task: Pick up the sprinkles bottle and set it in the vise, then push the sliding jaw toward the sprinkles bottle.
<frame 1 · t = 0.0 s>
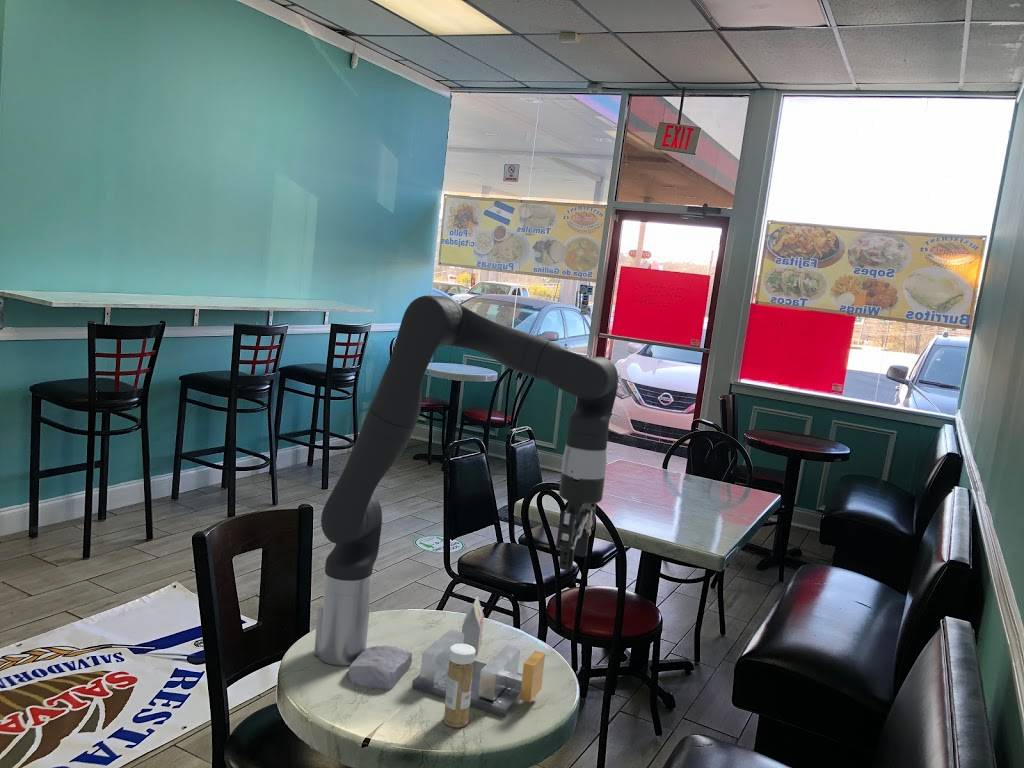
hand: (573, 562, 142), 29 cm above the table, fingers open, 8 cm apart
sliding jaw: (515, 671, 151), point 5 cm above the table, slide at 6.0 cm
vise: (471, 685, 155), on the table
stone block: (378, 675, 156), on the table
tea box: (470, 648, 171), on the table
sprinkles bottle: (455, 722, 142), on the table
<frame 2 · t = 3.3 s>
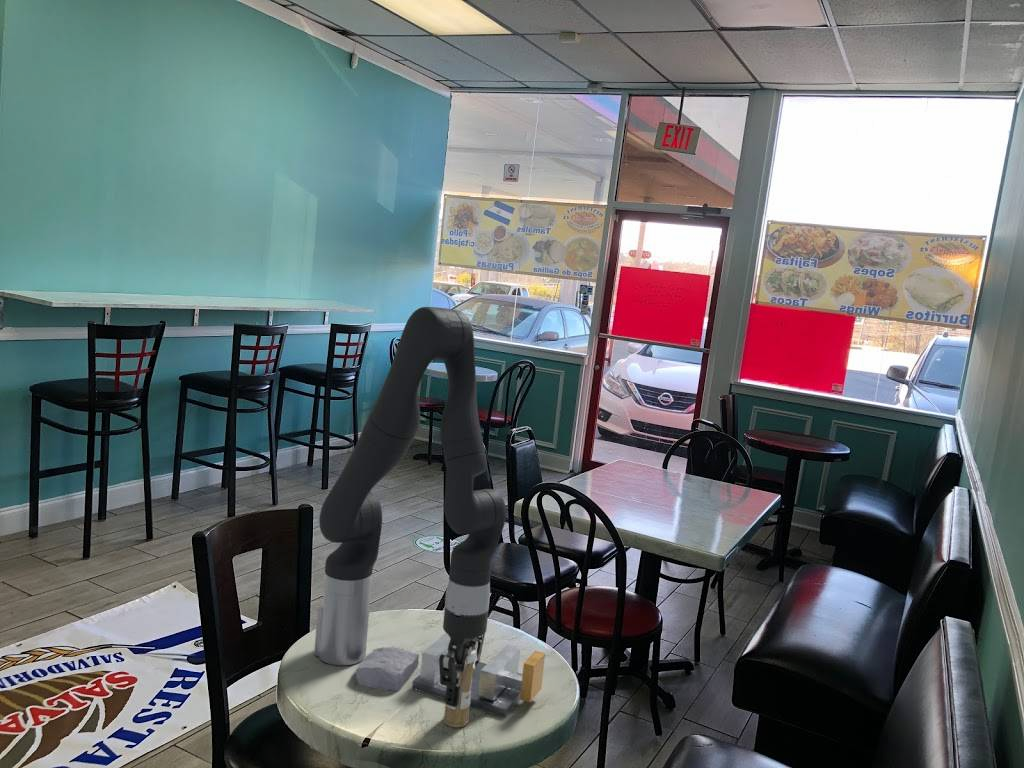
hand: (457, 698, 141), 4 cm above the table, fingers closed on sprinkles bottle, 4 cm apart
stone block: (385, 676, 156), on the table
sprinkles bottle: (455, 722, 142), on the table, touching gripper
everything else where it was.
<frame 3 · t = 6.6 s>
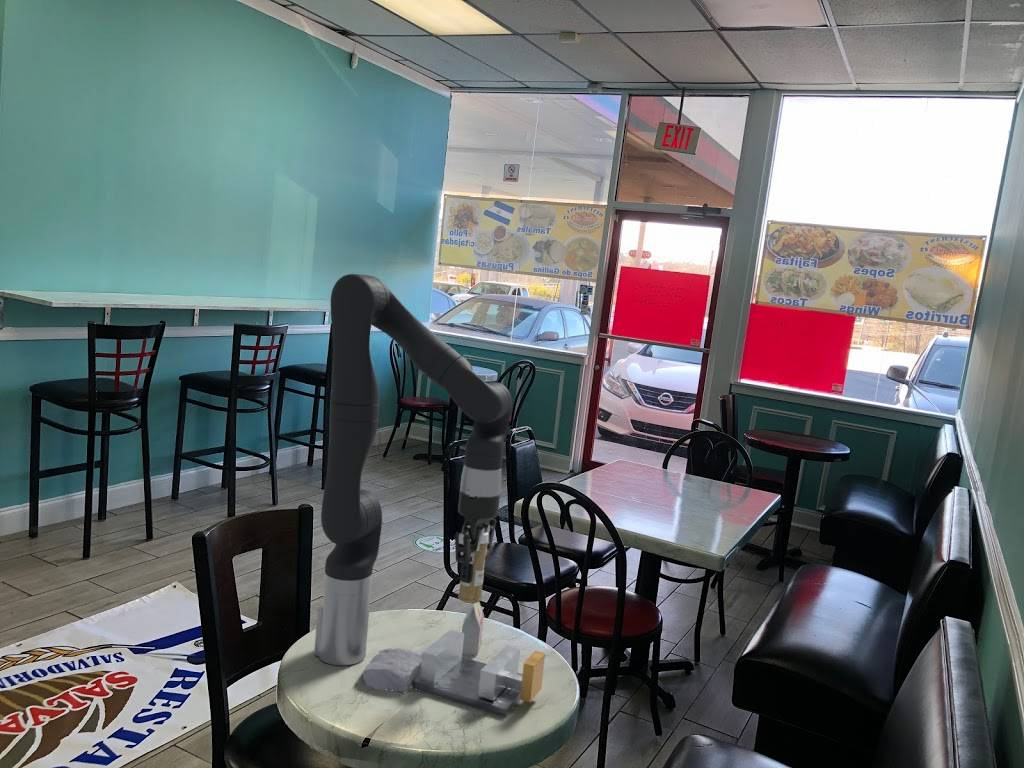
hand: (471, 577, 153), 21 cm above the table, fingers closed on sprinkles bottle, 4 cm apart
stone block: (392, 678, 156), on the table
sprinkles bottle: (469, 600, 154), point 16 cm above the table, touching gripper
everything else where it was.
when the fingers open (7 cm above the table, at t = 10.1 s): sprinkles bottle drops 1 cm, resting on vise.
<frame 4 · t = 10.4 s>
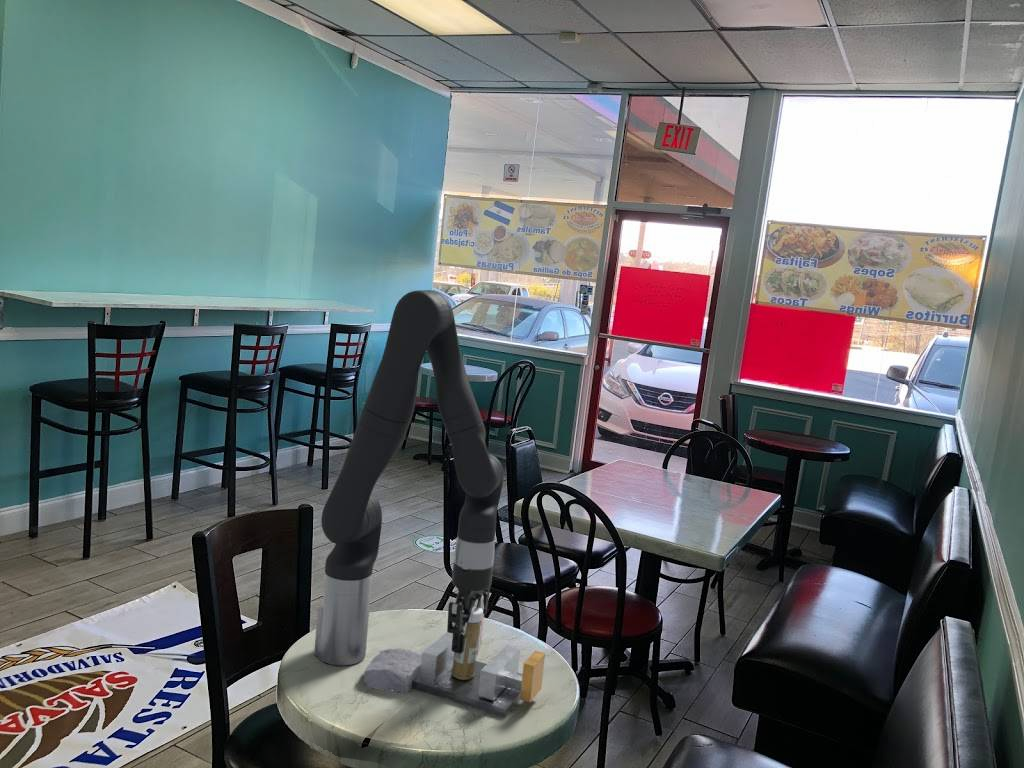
hand: (465, 644, 155), 8 cm above the table, fingers open, 6 cm apart
sprinkles bottle: (462, 675, 155), point 1 cm above the table, touching vise
everything else where it was.
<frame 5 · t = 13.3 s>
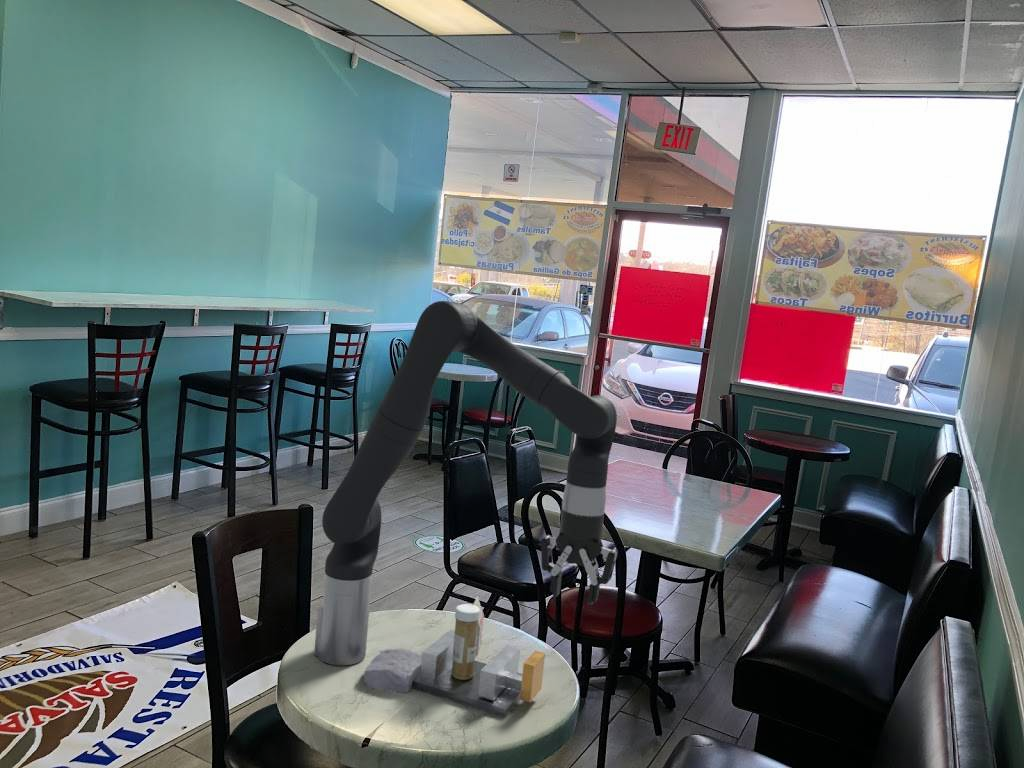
hand: (573, 598, 146), 22 cm above the table, fingers open, 6 cm apart
nothing on the table moved.
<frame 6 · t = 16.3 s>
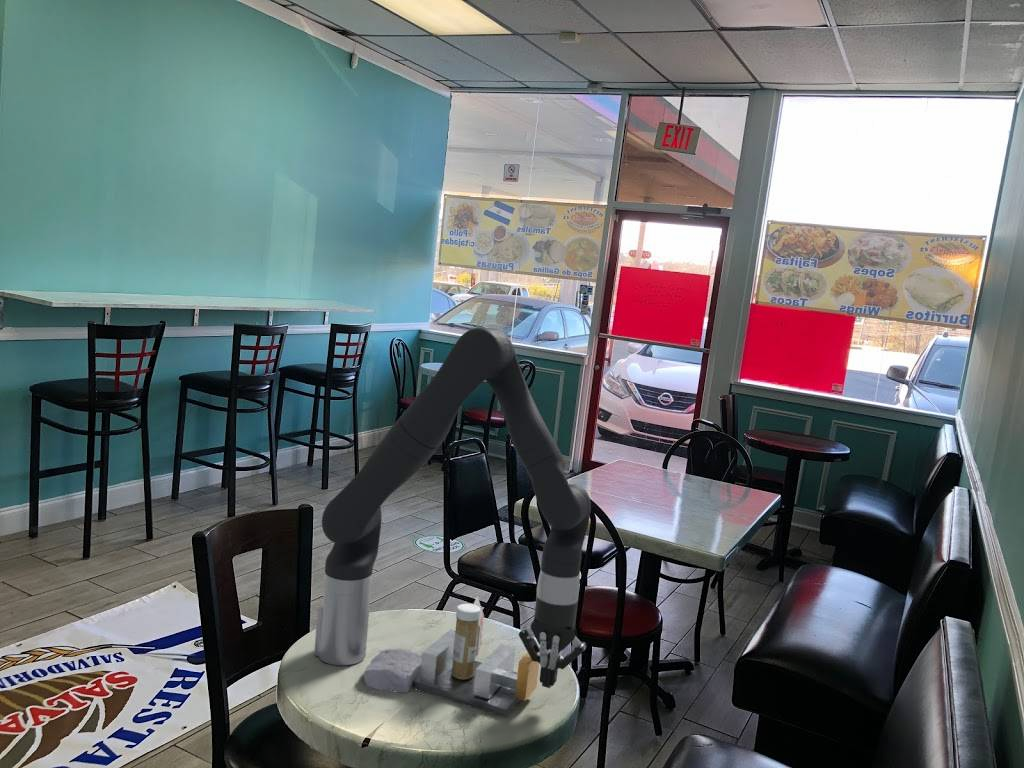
hand: (547, 685, 149), 4 cm above the table, fingers closed
sliding jaw: (510, 669, 151), point 5 cm above the table, slide at 5.0 cm, touching gripper
everything else where it was.
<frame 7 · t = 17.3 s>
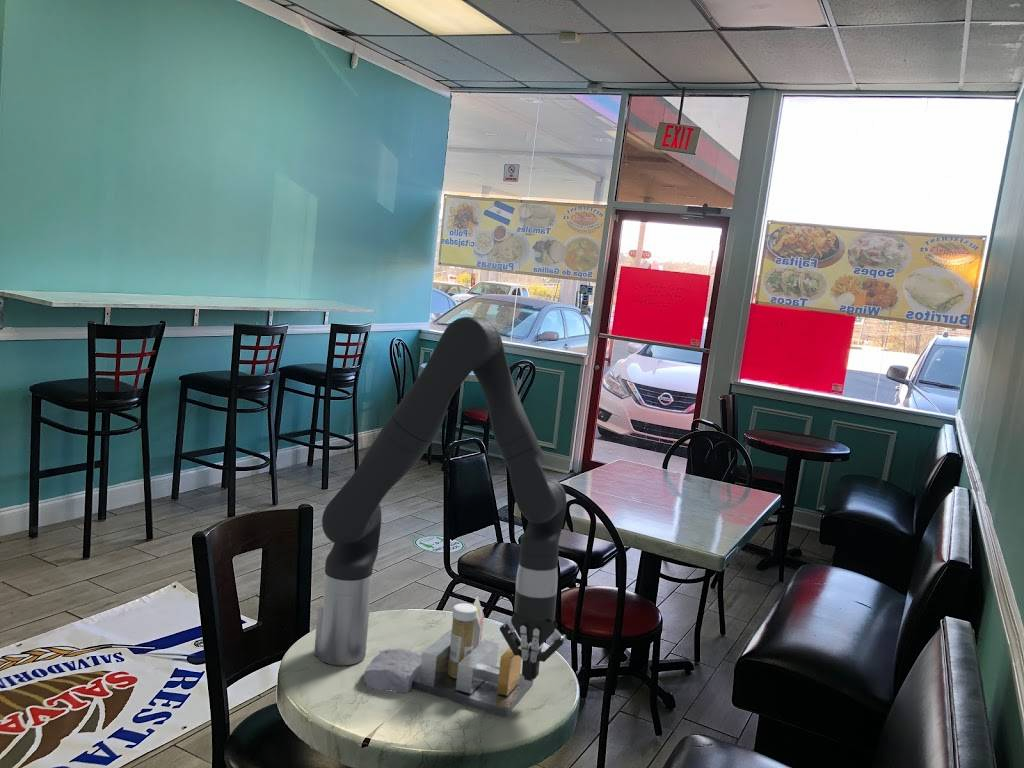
hand: (529, 678, 150), 5 cm above the table, fingers closed
sliding jaw: (492, 664, 153), point 5 cm above the table, slide at 1.5 cm, touching gripper, sprinkles bottle
sprinkles bottle: (458, 675, 156), point 1 cm above the table, touching sliding jaw, vise
everything else where it was.
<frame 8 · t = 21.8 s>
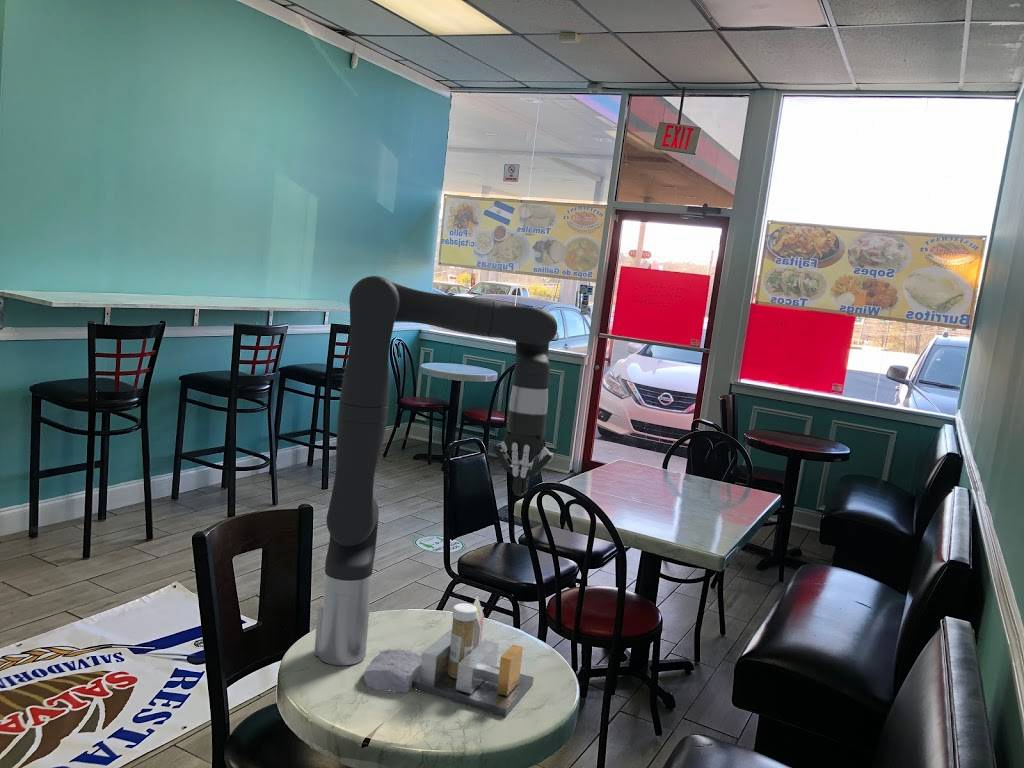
hand: (519, 494, 162), 35 cm above the table, fingers closed
sliding jaw: (492, 664, 153), point 5 cm above the table, slide at 1.5 cm
sprinkles bottle: (458, 675, 156), point 1 cm above the table, touching vise
everything else where it was.
at the end: sprinkles bottle 0.3 cm from the target spot on the vise, point 1.3 cm above the vise's base; sprinkles bottle tilted 0°; sliding jaw slide at 1.5 cm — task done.
